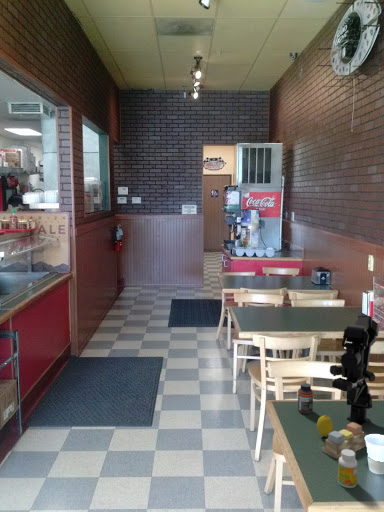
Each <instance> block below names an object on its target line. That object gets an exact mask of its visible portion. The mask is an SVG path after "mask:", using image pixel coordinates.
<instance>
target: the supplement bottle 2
mask: <svg viewBox="0 0 384 512" xmlns="http://www.w3.org/2000/svg"><path fill="white" fill-rule="evenodd" d="M337 467H338V469H337V483H338V484H339V486H341V487H344V488H348V489H352V488H355V487H356V486H357V482H358V480H357V478H358V461H357V459H356V452H354V451H352V450H349V449H344V450H342V451H341V457H340V458H339V460H338V466H337Z"/></svg>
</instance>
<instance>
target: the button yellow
mask: <svg viewBox="0 0 384 512" xmlns="http://www.w3.org/2000/svg"><path fill="white" fill-rule="evenodd" d="M338 432H339V433H341V434H344V439H345V440H348V439H350V438H352V437H353V433H352V432H349V431H347V430H346V429H344V428H343V429H341V430H339V431H338Z"/></svg>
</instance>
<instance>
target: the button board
mask: <svg viewBox="0 0 384 512" xmlns="http://www.w3.org/2000/svg"><path fill="white" fill-rule="evenodd" d="M365 435H366V433H365V432H364V431H363V430H362V431H361V433H360V434H358V435H356V436H355V435H353V437H352V438H350V439H348V440H345V439H344V442H343V443H341V444H339V445H336V444H334V443H332V442H330V441H328V438H326V439H324V446H322V447H321V449H322V450H321V452H322V453H324V454H326V455H329V456H330V457H332V458H334V459H337V460H338V461H339V458H340V457H341V451H342V450H344V449H349V450H352V451H354V452H355V453H356V452H358V451H360V450H361V449H363V448H365V447H366V446H365V441H366V440H364V437H366V436H365Z"/></svg>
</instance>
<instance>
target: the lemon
mask: <svg viewBox="0 0 384 512" xmlns="http://www.w3.org/2000/svg"><path fill="white" fill-rule="evenodd" d="M333 425H334V424H333V421H332V419H331V417H329V416H327V415H326V414H325V415H321V416H320V417H319V418H318V419H317V422H316V429H317V431H318V433H319V434H320V435H321V436H323V437H324V438H325V437H327V436H328V434H329V433H331V432H333V431H334V430H333V429H334V426H333Z"/></svg>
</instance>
